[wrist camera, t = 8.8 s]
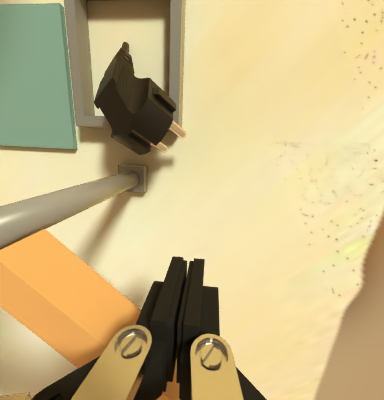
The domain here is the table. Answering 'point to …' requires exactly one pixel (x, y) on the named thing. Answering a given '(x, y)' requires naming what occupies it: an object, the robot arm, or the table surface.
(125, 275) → the table surface
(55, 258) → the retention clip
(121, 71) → the power plug
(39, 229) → the plug dock
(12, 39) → the mat
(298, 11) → the table surface
